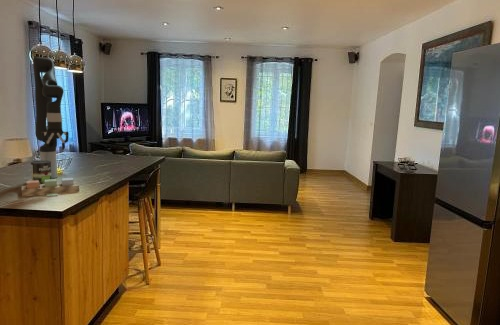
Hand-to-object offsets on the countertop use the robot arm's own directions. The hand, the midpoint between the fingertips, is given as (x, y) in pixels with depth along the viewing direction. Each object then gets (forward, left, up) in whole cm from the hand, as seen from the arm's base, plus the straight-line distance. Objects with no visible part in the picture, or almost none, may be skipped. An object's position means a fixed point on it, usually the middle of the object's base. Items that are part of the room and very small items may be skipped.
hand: (56, 149), depth 212 cm
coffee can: (-10, -1, -22) cm, 24 cm away
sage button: (+6, -12, -19) cm, 23 cm away
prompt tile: (+12, -18, -22) cm, 31 cm away
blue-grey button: (+12, -6, -19) cm, 23 cm away
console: (+6, -12, -22) cm, 26 cm away
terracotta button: (0, -18, -19) cm, 26 cm away
